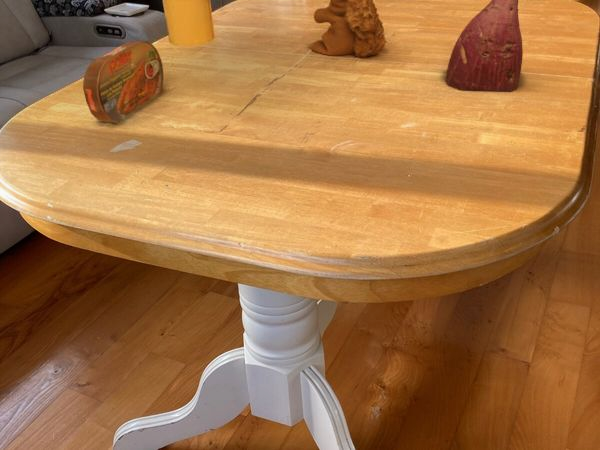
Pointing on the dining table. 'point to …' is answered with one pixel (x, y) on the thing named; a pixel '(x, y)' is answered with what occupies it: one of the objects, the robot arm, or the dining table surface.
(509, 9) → the vegetable
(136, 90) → the tin
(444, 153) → the dining table surface
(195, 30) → the yellow canister
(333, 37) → the stuffed squirrel
